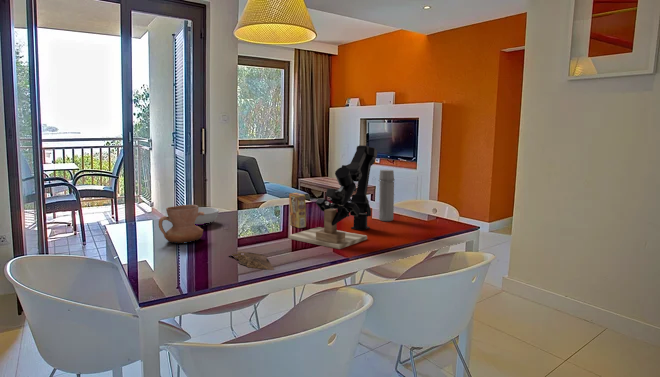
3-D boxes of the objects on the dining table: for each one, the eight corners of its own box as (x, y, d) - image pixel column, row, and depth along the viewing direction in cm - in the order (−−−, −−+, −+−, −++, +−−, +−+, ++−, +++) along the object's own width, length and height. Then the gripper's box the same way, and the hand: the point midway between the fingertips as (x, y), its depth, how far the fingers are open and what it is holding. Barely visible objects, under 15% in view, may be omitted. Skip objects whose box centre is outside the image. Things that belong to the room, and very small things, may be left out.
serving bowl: (212, 229, 193) (211, 214, 192) (166, 229, 193) (165, 214, 193) (224, 220, 214) (223, 206, 213) (182, 220, 214) (181, 206, 213)
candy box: (306, 227, 197) (306, 194, 195) (298, 228, 195) (297, 195, 193) (297, 223, 205) (296, 192, 203) (289, 225, 202) (288, 193, 200)
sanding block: (325, 236, 174) (325, 207, 173) (345, 240, 168) (345, 210, 166) (315, 239, 170) (315, 209, 168) (335, 243, 163) (336, 212, 162)
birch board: (318, 230, 191) (318, 226, 191) (367, 239, 176) (367, 235, 175) (289, 238, 177) (289, 235, 176) (339, 249, 161) (339, 245, 161)
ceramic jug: (201, 234, 183) (199, 202, 181) (210, 241, 171) (208, 207, 169) (156, 241, 174) (153, 207, 172) (163, 249, 162) (160, 212, 160)
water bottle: (382, 218, 218) (383, 169, 215) (396, 219, 213) (397, 170, 210) (373, 221, 211) (374, 170, 207) (387, 223, 206) (388, 171, 203)
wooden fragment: (224, 255, 154) (224, 252, 154) (252, 250, 161) (252, 247, 160) (254, 275, 133) (254, 271, 133) (285, 268, 140) (285, 265, 139)
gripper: (318, 178, 174) (300, 209, 167) (356, 182, 163) (338, 215, 156) (330, 195, 182) (313, 225, 175) (367, 199, 170) (350, 232, 163)
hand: (328, 224), depth 167 cm, fingers closed on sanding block, 3 cm apart
